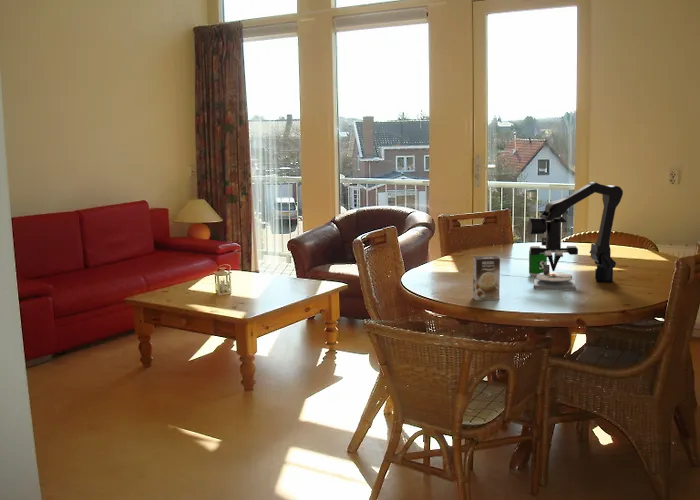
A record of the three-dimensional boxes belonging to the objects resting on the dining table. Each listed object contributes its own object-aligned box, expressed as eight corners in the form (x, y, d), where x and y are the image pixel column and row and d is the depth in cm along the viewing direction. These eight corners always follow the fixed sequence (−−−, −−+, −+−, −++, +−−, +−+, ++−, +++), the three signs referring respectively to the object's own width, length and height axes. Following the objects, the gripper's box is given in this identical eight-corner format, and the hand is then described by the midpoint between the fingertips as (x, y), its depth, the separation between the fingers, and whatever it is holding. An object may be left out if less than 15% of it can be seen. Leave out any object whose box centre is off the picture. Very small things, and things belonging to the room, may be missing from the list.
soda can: (534, 278, 318) (534, 250, 316) (525, 274, 325) (525, 247, 323) (550, 276, 320) (550, 249, 318) (541, 273, 327) (541, 246, 325)
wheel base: (574, 282, 308) (574, 275, 307) (575, 290, 294) (575, 283, 293) (534, 281, 312) (534, 274, 312) (533, 289, 298) (533, 282, 297)
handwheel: (568, 274, 308) (568, 263, 308) (575, 281, 295) (575, 270, 294) (534, 275, 310) (534, 264, 309) (539, 282, 296) (539, 270, 295)
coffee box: (476, 301, 282) (475, 259, 279) (472, 297, 288) (472, 256, 285) (500, 300, 282) (500, 258, 279) (496, 296, 288) (496, 255, 285)
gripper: (575, 230, 310) (574, 267, 312) (529, 231, 313) (528, 267, 316) (578, 234, 299) (577, 272, 301) (530, 234, 302) (530, 272, 305)
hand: (553, 271), depth 306 cm, fingers closed
